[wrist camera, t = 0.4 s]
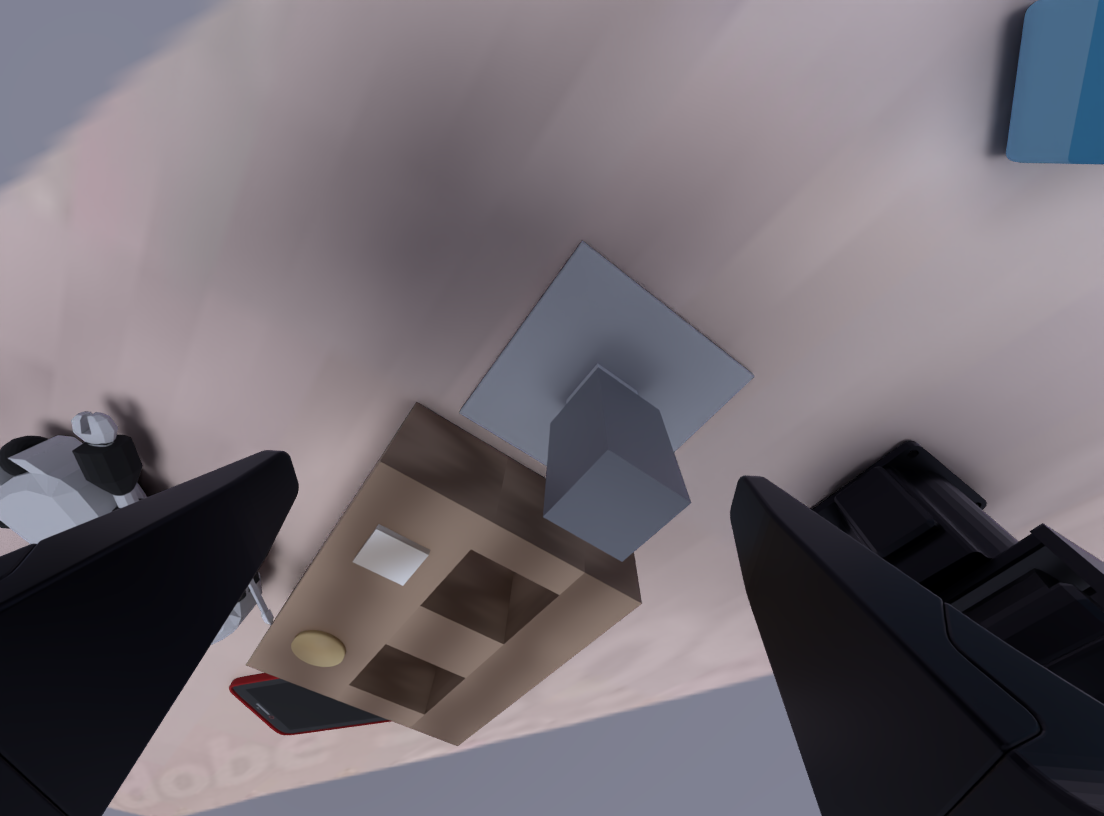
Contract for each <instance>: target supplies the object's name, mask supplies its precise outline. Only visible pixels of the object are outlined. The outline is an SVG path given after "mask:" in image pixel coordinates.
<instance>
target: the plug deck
mask: <svg viewBox="0 0 1104 816" xmlns="http://www.w3.org/2000/svg"><path fill="white" fill-rule="evenodd" d="M597 363H598V364H599V365H601V366H602V367H604V368H605V369H607V370H608V371H609V372H611V373H612V374H614V375H615V376H617V377H618V378H619V379H621V380H622V381H624V382H625V383H626V384H628V385H629V386H631V387H632V388H634V389H635V390H636V391H637V392H638V395H639V396H640V397H642V398H643V399H644V400H646V401H647V402H649V403H650V404H652V405H653V406H654V407H656V408H657V409H659V410H660V413H661V416H662V419H663V422H664V425H665V428H666V431H667V434H668V437H669V439H670V442H671V445H672V448H673V451H674V452H675V451H676V450H677V449H678V448H679V447H680V446H681V445H682V444H683V443H684V442H685V441H686V440H687V439H689V438H690V437H691V436H692V435H693V434H694V433H695V432H696V431H697V430H698V429H699V428H700V427H701V426H702V425H703V424H704V423H706V422H707V421H708V420H709V419H710V418H711V417H712V416H713V415H714V414H715V413H716V412H717V411H718V410H719V409H720V408H721V407H723V406H724V405H725V404H726V403H727V402H728V401H729V400H730V399H731V398H732V397H733V396H734V395H735V394H736V393H737V392H738V391H740V390H741V389H742V388H743V387H744V386H745V385H746V384H747V383H748V382H749V381H750V380H751V379H752V378H753V377H754V375H753V374H752V373H751V372H750V371H749V370H747V369H746V368H745V367H743V366H742V365H741V364H740V363H738V362H737V361H736V360H735V359H733V358H732V357H731V356H729V355H728V354H727V353H726V352H724V351H723V350H722V349H720V348H719V347H718V346H717V345H715V344H714V343H713V342H712V341H710V340H709V339H708V338H706V337H705V336H704V335H703V334H701V333H700V332H699V331H697V330H696V329H695V328H694V327H692V326H691V325H690V324H689V323H687V322H686V321H685V320H683V319H682V318H681V317H680V316H678V315H677V314H676V313H674V312H673V311H672V310H671V309H669V308H668V307H667V306H666V305H664V304H663V303H662V302H660V301H659V300H658V299H657V298H655V297H654V296H653V295H652V294H650V293H649V292H648V291H646V290H645V289H644V288H643V287H641V286H640V285H639V284H637V283H636V282H635V281H634V280H632V279H631V278H630V277H629V276H627V275H626V274H625V273H623V272H622V271H621V270H620V269H618V268H617V267H616V266H614V265H613V264H612V263H611V262H609V261H608V260H607V259H606V258H604V257H603V256H602V255H600V254H599V253H598V252H597V251H595V250H594V249H593V248H591V247H590V246H589V245H588V244H586V243H585V242H584V241H582V242H581V243H580V245H579V246H578V247H577V249H576V250H575V252H574V253H573V254H572V256H571V257H570V259H569V260H568V261H567V263H566V264H565V265H564V267H563V268H562V270H561V271H560V272H559V274H558V275H557V277H556V278H555V279H554V281H553V282H552V284H551V285H550V286H549V288H548V289H547V290H546V292H545V293H544V295H543V296H542V297H541V299H540V300H539V302H538V303H537V304H536V306H535V307H534V309H533V310H532V311H531V313H530V314H529V315H528V317H527V318H526V320H525V321H524V322H523V324H522V325H521V327H520V328H519V329H518V331H517V332H516V334H515V335H514V336H513V338H512V339H511V340H510V342H509V343H508V345H507V346H506V347H505V349H504V350H503V352H502V353H501V354H500V356H499V357H498V359H497V360H496V361H495V363H494V364H493V365H492V367H491V368H490V370H489V371H488V372H487V374H486V375H485V377H484V378H483V379H482V381H481V382H480V384H479V385H478V386H477V388H476V389H475V390H474V392H473V393H472V395H471V396H470V397H469V399H468V400H467V402H466V403H465V404H464V406H463V407H462V409H461V410H460V414H461V415H463V416H465V417H466V418H468V419H470V420H471V421H473V422H475V423H476V424H478V425H480V426H481V427H483V428H485V429H486V430H488V431H490V432H491V433H493V434H495V435H496V436H498V437H499V438H501V439H503V440H504V441H506V442H508V443H509V444H511V445H513V446H514V447H516V448H518V449H519V450H521V451H523V452H524V453H526V454H528V455H529V456H531V457H533V458H534V459H536V460H538V461H539V462H541V463H543V464H544V465H546V466H547V459H548V446H549V434H550V423H551V422H552V421H553V419H554V418H555V417H556V416H557V415H558V413H559V412H560V411H561V410H562V409H563V408H564V406H565V405H566V400H567V399H568V397H569V396H570V395H571V394H572V393H573V392H574V390H575V389H576V388H577V387H578V386H579V385H580V383H581V382H582V381H583V380H584V379H585V377H586V376H587V375H588V374H589V373H590V372H591V370H592V369H593V368H594V367H595V366H596V364H597Z"/></svg>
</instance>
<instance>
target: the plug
mask: <svg viewBox="0 0 1104 816" xmlns="http://www.w3.org/2000/svg"><path fill="white" fill-rule="evenodd" d="M690 503H691V501H690V498H689V495H688V492H687V489H686V486H685V483H684V480H683V477H682V475H681V472H680V469H679V466H678V463H677V460H676V457H675V454H674V451H673V448H672V445H671V442H670V439H669V437H668V434H667V431H666V428H665V425H664V422H663V419H662V416H661V413H660V410H659V409H657V408H656V407H654V406H653V405H652V404H650V403H649V402H647V401H646V400H644V399H643V398H642V397H640V396H639V395H638V392H637V391H636V390H635V389H634V388H632V387H631V386H629V385H628V384H626V383H625V382H624V381H622V380H621V379H619V378H618V377H617V376H615V375H614V374H612V373H611V372H609V371H608V370H607V369H605V368H604V367H602V366H601V365H599V364H598V363H597V364H596V366H595V367H594V368H593V369H592V370H591V372H590V373H589V374H588V375H587V376H586V377H585V379H584V380H583V381H582V382H581V383H580V385H579V386H578V387H577V388H576V389H575V390H574V392H573V393H572V394H571V395H570V396H569V397H568V399H567V400H566V405H565V406H564V408H563V409H562V410H561V411H560V412H559V413H558V415H557V416H556V417H555V418H554V419H553V421H552V422H551V423H550V434H549V446H548V459H547V472H546V484H545V497H544V510H543V517H544V518H545V519H547V520H549V521H551V522H553V523H554V524H556V525H558V526H560V527H561V528H563V529H565V530H567V531H568V532H570V533H572V534H574V535H575V536H577V537H579V538H581V539H583V540H584V541H586V542H588V543H590V544H591V545H593V546H595V547H597V548H598V549H600V550H602V551H604V552H605V553H607V554H609V555H611V556H613V557H614V558H616V559H618V560H620V561H621V562H623V561H624V560H625V559H626V558H627V557H628V556H630V555H631V554H632V553H633V552H634V551H635V550H637V549H638V548H639V547H640V546H641V545H642V544H644V543H645V542H646V541H647V540H648V539H649V538H651V537H652V536H653V535H654V534H655V533H656V532H658V531H659V530H660V529H661V528H662V527H663V526H665V525H666V524H667V523H668V522H669V521H671V520H672V519H673V518H674V517H675V516H676V515H678V514H679V513H680V512H681V511H682V510H683V509H685V508H686V507H687V506H688V505H689V504H690Z"/></svg>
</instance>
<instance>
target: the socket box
mask: <svg viewBox="0 0 1104 816" xmlns="http://www.w3.org/2000/svg"><path fill="white" fill-rule="evenodd" d="M545 484H546V479H545V478H543V477H542V476H540V475H538V474H537V473H535V472H533V471H531V470H530V469H528V468H526V467H525V466H523V465H521V464H520V463H518V462H516V461H515V460H513V459H511V458H510V457H508V456H506V455H505V454H503V453H501V452H500V451H498V450H496V449H494V448H493V447H491V446H489V445H488V444H486V443H484V442H483V441H481V440H479V439H478V438H476V437H474V436H473V435H471V434H469V433H468V432H466V431H464V430H463V429H461V428H459V427H457V426H456V425H454V424H452V423H451V422H449V421H447V420H446V419H444V418H442V417H441V416H439V415H437V414H436V413H434V412H432V411H431V410H429V409H427V408H426V407H424V406H422V405H420V404H419V403H417V402H416V404H415V405H414V407H413V408H412V410H411V412H410V413H409V415H408V416H407V418H406V419H405V421H404V422H403V424H402V425H401V427H400V428H399V430H398V431H397V433H396V434H395V436H394V437H393V439H392V440H391V442H390V444H389V445H388V447H387V448H386V450H385V451H384V453H383V454H382V456H381V457H380V459H379V460H378V462H377V463H376V465H375V466H374V468H373V469H372V471H371V473H370V474H369V476H368V477H367V479H366V480H365V482H364V483H363V485H362V486H361V488H360V489H359V491H358V492H357V494H356V495H355V497H354V498H353V500H352V502H351V503H350V505H349V506H348V508H347V509H346V511H345V512H344V514H343V515H342V517H341V518H340V520H339V521H338V523H337V524H336V526H335V527H334V529H333V531H332V532H331V534H330V535H329V537H328V538H327V540H326V541H325V543H324V544H323V546H322V547H321V549H320V550H319V552H318V553H317V555H316V556H315V558H314V560H313V561H312V563H311V564H310V566H309V567H308V569H307V570H306V572H305V573H304V575H303V576H302V578H301V579H300V581H299V582H298V584H297V585H296V587H295V588H294V590H293V592H292V593H291V595H290V596H289V598H288V599H287V601H286V603H285V604H284V606H283V607H282V609H281V610H280V612H279V614H278V615H277V617H276V618H275V620H274V621H273V623H272V625H271V626H270V628H269V629H268V631H267V632H266V634H265V636H264V637H263V639H262V640H261V642H260V643H259V645H258V647H257V648H256V650H255V651H254V653H253V654H252V656H251V658H250V659H249V661H248V662H247V664H246V666H249V667H252V668H254V669H257V670H259V671H262V672H265V673H267V674H270V675H272V676H275V677H278V678H280V679H283V680H286V681H288V682H291V683H293V684H296V685H299V686H301V687H304V688H307V689H309V690H312V691H314V692H317V693H320V694H322V695H325V696H327V697H330V698H333V699H335V700H338V701H341V702H343V703H346V704H348V705H351V706H354V707H356V708H359V709H361V710H364V711H367V712H369V713H372V714H375V715H377V716H380V717H382V718H385V719H388V720H390V721H393V722H395V723H398V724H401V725H403V726H406V727H409V728H411V729H414V730H416V731H419V732H422V733H424V734H427V735H429V736H432V737H435V738H437V739H440V740H443V741H445V742H448V743H450V744H453V745H456V746H459V745H460V744H461V743H462V742H464V741H465V740H466V739H468V738H469V737H470V736H471V735H473V734H474V733H475V732H477V731H478V730H479V729H481V728H482V727H483V726H484V725H486V724H487V723H488V722H490V721H491V720H492V719H493V718H495V717H496V716H497V715H499V714H500V713H501V712H502V711H504V710H505V709H506V708H508V707H509V706H510V705H512V704H513V703H514V702H515V701H517V700H518V699H519V698H521V697H522V696H523V695H524V694H526V693H527V692H528V691H530V690H531V689H532V688H533V687H535V686H536V685H537V684H539V683H540V682H541V681H543V680H544V679H545V678H546V677H548V676H549V675H550V674H552V673H553V672H554V671H555V670H557V669H558V668H559V667H561V666H562V665H563V664H564V663H566V662H567V661H568V660H570V659H571V658H572V657H574V656H575V655H576V654H577V653H579V652H580V651H581V650H583V649H584V648H585V647H586V646H588V645H589V644H590V643H592V642H593V641H594V640H596V639H597V638H598V637H599V636H601V635H602V634H603V633H605V632H606V631H607V630H608V629H610V628H611V627H612V626H614V625H615V624H616V623H617V622H619V621H620V620H621V619H623V618H624V617H625V616H627V615H628V614H629V613H630V612H632V611H633V610H634V609H636V608H637V607H638V606H639V605H641V604H642V601H641V595H640V588H639V582H638V576H637V569H636V563H635V556H634V552H633V553H632V554H631V555H630V556H628V557H627V558H626V559H625V560H624V561H623V562H621V561H620V560H618V559H616V558H614V557H613V556H611V555H609V554H607V553H605V552H604V551H602V550H600V549H598V548H597V547H595V546H593V545H591V544H590V543H588V542H586V541H584V540H583V539H581V538H579V537H577V536H575V535H574V534H572V533H570V532H568V531H567V530H565V529H563V528H561V527H560V526H558V525H556V524H554V523H553V522H551V521H549V520H547V519H545V518H544V517H543V510H544V497H545Z"/></svg>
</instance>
